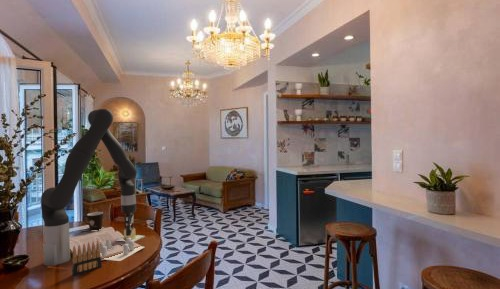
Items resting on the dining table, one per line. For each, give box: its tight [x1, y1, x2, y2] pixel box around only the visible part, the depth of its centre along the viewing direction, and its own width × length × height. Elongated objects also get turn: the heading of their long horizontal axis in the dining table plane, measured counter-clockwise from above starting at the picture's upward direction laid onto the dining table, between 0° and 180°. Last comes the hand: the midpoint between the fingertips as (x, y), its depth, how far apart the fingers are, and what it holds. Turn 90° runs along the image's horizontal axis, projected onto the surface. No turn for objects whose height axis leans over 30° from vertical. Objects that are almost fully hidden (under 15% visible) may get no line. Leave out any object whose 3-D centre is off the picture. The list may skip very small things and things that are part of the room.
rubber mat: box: [121, 234, 146, 243], centre depth 166 cm, size 11×11×1 cm
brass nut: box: [123, 227, 137, 240], centre depth 166 cm, size 6×5×5 cm
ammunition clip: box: [71, 240, 103, 277], centre depth 127 cm, size 11×2×12 cm, turn 132°
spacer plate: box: [99, 238, 145, 262], centre depth 147 cm, size 18×18×5 cm
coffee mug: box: [82, 211, 104, 231], centre depth 186 cm, size 12×9×10 cm
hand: (129, 233), depth 166 cm, fingers open, 8 cm apart
